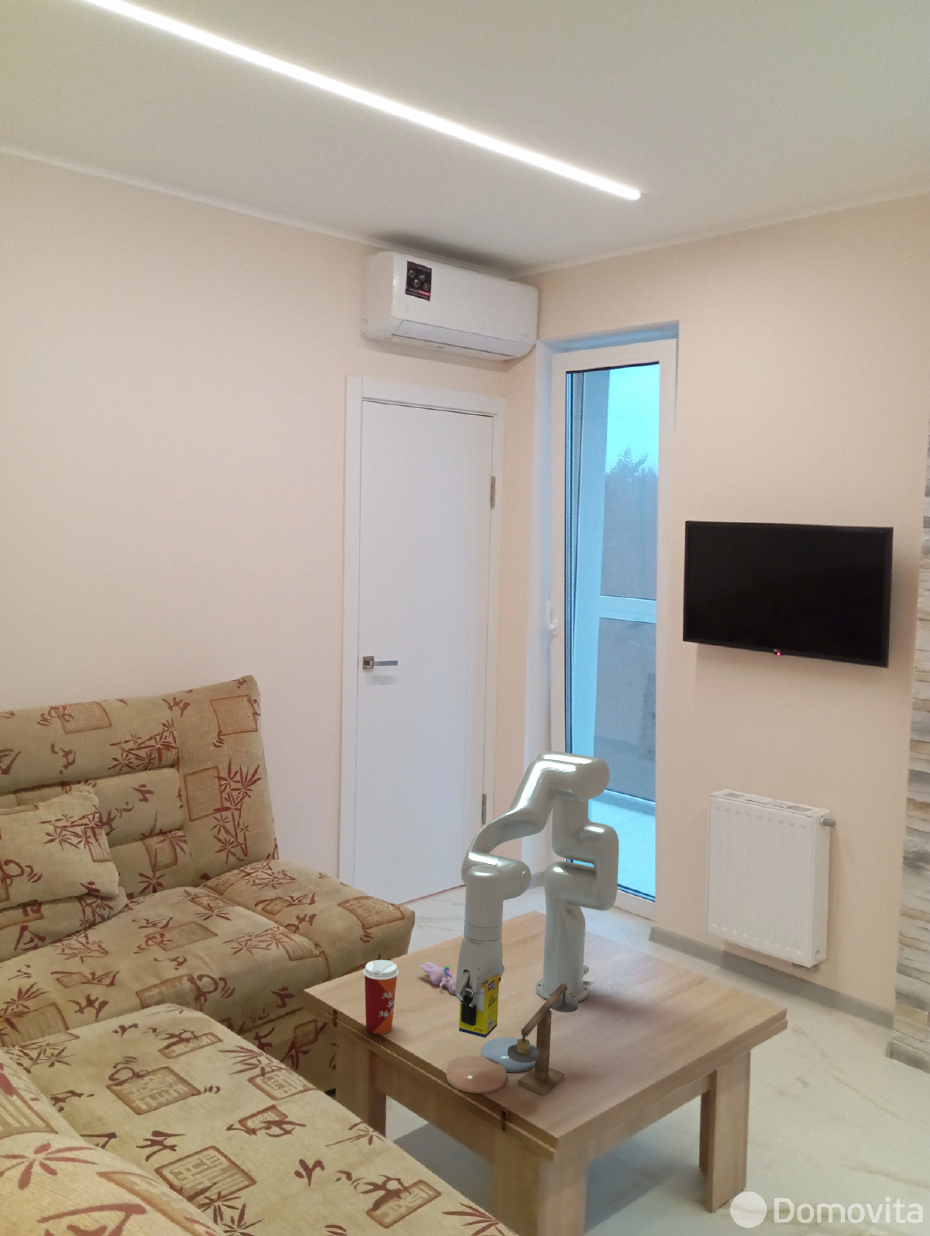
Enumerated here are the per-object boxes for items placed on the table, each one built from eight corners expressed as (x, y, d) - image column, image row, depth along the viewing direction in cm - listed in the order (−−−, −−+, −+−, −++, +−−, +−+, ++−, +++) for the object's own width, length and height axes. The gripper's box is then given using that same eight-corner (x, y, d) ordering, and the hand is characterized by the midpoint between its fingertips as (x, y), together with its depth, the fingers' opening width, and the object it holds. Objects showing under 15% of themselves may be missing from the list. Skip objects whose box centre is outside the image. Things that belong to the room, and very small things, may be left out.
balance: (555, 1055, 211) (559, 974, 209) (580, 1065, 207) (584, 982, 206) (499, 1099, 193) (503, 1011, 192) (525, 1110, 190) (530, 1020, 189)
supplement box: (497, 1026, 202) (500, 973, 201) (485, 1039, 196) (488, 984, 195) (470, 1019, 204) (473, 967, 203) (458, 1031, 199) (460, 978, 198)
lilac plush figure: (470, 997, 239) (429, 967, 249) (474, 975, 238) (432, 945, 248) (452, 1005, 235) (410, 974, 245) (455, 982, 234) (414, 951, 244)
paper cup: (391, 1038, 215) (393, 975, 214) (356, 1033, 216) (358, 971, 215) (400, 1022, 222) (403, 961, 221) (367, 1017, 224) (369, 956, 223)
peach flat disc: (468, 1055, 209) (469, 1050, 209) (517, 1075, 202) (517, 1069, 202) (434, 1079, 199) (434, 1073, 199) (484, 1100, 193) (484, 1094, 192)
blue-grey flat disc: (501, 1037, 218) (502, 1031, 218) (549, 1055, 211) (549, 1049, 211) (470, 1059, 208) (470, 1053, 208) (519, 1078, 201) (519, 1073, 201)
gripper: (491, 913, 208) (487, 996, 209) (441, 937, 194) (437, 1027, 195) (522, 922, 204) (517, 1007, 205) (473, 947, 189) (469, 1039, 191)
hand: (478, 1016), depth 200 cm, fingers closed on supplement box, 6 cm apart
